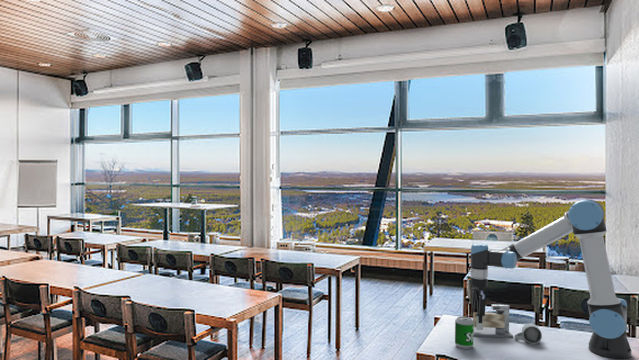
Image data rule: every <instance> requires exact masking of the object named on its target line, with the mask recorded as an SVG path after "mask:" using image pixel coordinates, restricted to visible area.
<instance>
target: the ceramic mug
mask: <svg viewBox="0 0 639 360" xmlns="http://www.w3.org/2000/svg"><path fill="white" fill-rule="evenodd" d="M514 338H515V340H516V341H521V340H524V341H525V342H526V343H528V344H530V345H536V344H539V343H540V342H541V341H542V338H543V335H542V331H541V329H540V328H539V326H537V325H536V324H535V323H531V322H529V323H526V324H524V325H523V327H522V329H521V331H520V332H518V333H516V334H514Z"/></svg>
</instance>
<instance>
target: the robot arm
mask: <svg viewBox="0 0 639 360" xmlns="http://www.w3.org/2000/svg"><path fill="white" fill-rule="evenodd" d="M607 232H608V231H607V226H606V221H605V209H604V207H603V205H602V204H601V203H600V202H598V201H596V200H594V199H588V198H587V199H581V200H578V201H575V202H574V203H573V204H571V205H570V207H569V209H568V210H567V211H565V212H564V214H563V216H562V217H560V218H558V219H555V220H553V222H551V223H549V224H547V225H545V226H543V227H541V228H539V229H537V230H535V231H534V232H532V233H530V234H528V235H526V236H525V237H523V238H521V239H519V240H518V241H515V242H514V243H512V244H510V245H508V246H506V247H505V248H502V249H498V250H497V249H490V248H489V245H488V244H484V243H473V244H471V247H470V270H469V272H470V286H472V288H471V310H472V311H473V312H477V314H476V316H477V318H476V330H483V316H485V312H486V305H487V304H486V300H487V294H485V289H484V288H487V287H488V285H489V283H488V277H489V267H494V268H501V269H502V268H503V269H506V270H507V269H511V270H512V269H515V268H516V266H517V262H518V261H519V260H521V259H523V258H525V257H527V256H529V255H532V254H533V253H535V252H536V251H539V250H540V249H543V248H545V247H547V246H548V245H550V244H552V243H554V242H556V241H557V240H560V239H562V238H564V237H566V236H568V235H569V234H571V233H572V234H573V235H574V236H575V237H576V238H578V242H579V245H580V246H579V247H580V252H581V255H582V261H583V267H584V273H585V277H586V281H587V286H588V291H589V296H590V297H589V299H588V300H587V301H586V303H587V307H588V313H589V318H588V319H589V320H588V322H589V326H590V328H591V330H592V331H593V332H592V334H591V336H590V339H589V341H588V350H589V351H590V352H592V353H594V354H596V355H599V356H601V357H606V358H611V359H617V360H618V359H620V360H627V359H630V358H632V349H631V345H630V343H629V341H628V336H627V331H628V329H627V328H628V325H627V324H628V323H627V320H628V317H627V315H628V314H627V313H628V303H627V300H625V299H623V298H619V297H617V295H616V292H615V287H614V286H615V285H614V282H613V277H612V273H611V268H610V263H609V258H608V253H607V248H606V244H605V238H604V236H605V234H606V233H607Z"/></svg>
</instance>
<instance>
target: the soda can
mask: <svg viewBox="0 0 639 360" xmlns="http://www.w3.org/2000/svg"><path fill="white" fill-rule="evenodd" d="M454 321H455V322H454V324H455V325H454V344H455V345H456V347H457V348H460V349H462V350H471V349H472V348H473V347H474V322H473V318H471V317H468V316H458V317H457V318H456V319H454Z"/></svg>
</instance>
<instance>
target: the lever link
mask: <svg viewBox="0 0 639 360" xmlns="http://www.w3.org/2000/svg"><path fill="white" fill-rule="evenodd" d="M504 312H505V310H503V309H496V310H495V312H486V311H485V316H483V327H489V328H505V315H504V314H503V313H504ZM476 314H477V312H474V311H473V312H472V320H473V322H474V327H476V318H477V316H476Z"/></svg>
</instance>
